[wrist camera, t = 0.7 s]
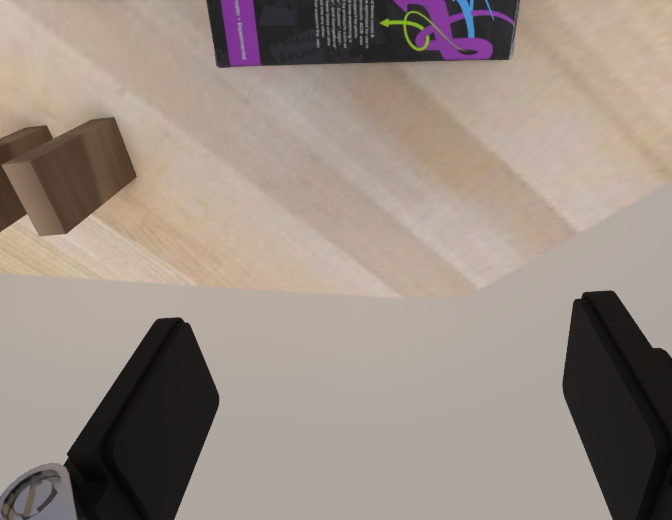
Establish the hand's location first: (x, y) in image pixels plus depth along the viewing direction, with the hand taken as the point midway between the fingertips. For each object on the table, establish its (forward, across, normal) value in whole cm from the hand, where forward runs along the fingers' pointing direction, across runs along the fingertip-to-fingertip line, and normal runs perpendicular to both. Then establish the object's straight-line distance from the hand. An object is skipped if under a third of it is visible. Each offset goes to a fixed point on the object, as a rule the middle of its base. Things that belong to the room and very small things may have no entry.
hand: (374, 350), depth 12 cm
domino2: (+26, +22, +1) cm, 35 cm away
